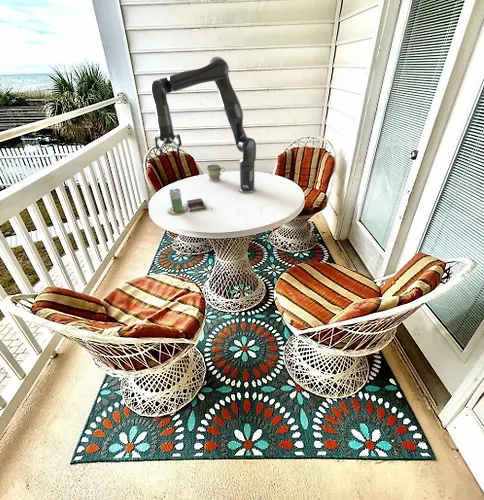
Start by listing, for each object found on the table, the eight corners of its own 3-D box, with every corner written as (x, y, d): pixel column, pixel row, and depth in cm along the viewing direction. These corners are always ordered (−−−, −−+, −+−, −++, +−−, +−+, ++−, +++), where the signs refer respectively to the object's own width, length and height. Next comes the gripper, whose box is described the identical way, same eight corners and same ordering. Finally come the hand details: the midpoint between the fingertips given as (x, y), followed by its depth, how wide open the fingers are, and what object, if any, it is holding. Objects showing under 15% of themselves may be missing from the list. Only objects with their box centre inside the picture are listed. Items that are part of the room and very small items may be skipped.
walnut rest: (187, 204, 165) (186, 200, 163) (201, 202, 167) (201, 198, 166) (190, 211, 157) (189, 207, 156) (205, 209, 159) (205, 204, 158)
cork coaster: (175, 206, 164) (175, 205, 164) (189, 208, 161) (189, 207, 161) (165, 213, 157) (165, 212, 157) (180, 215, 154) (180, 214, 153)
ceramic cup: (206, 182, 195) (204, 168, 190) (209, 177, 203) (208, 164, 198) (224, 183, 193) (223, 169, 188) (226, 178, 201) (226, 164, 196)
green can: (169, 195, 161) (168, 186, 149) (179, 194, 163) (179, 184, 151) (173, 215, 159) (173, 207, 147) (183, 213, 161) (184, 205, 149)
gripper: (151, 126, 141) (158, 158, 150) (179, 123, 144) (183, 155, 153) (150, 124, 147) (156, 154, 156) (177, 121, 150) (181, 151, 159)
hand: (170, 155), depth 155 cm, fingers open, 8 cm apart
